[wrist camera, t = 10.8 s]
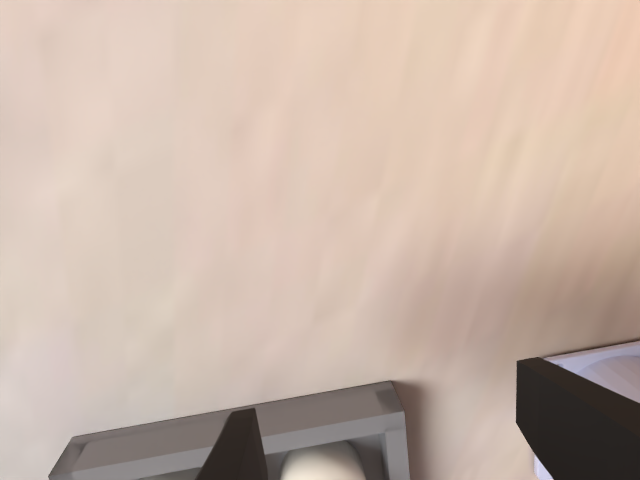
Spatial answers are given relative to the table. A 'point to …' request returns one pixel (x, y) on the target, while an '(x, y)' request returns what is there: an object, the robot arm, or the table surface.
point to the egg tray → (275, 428)
